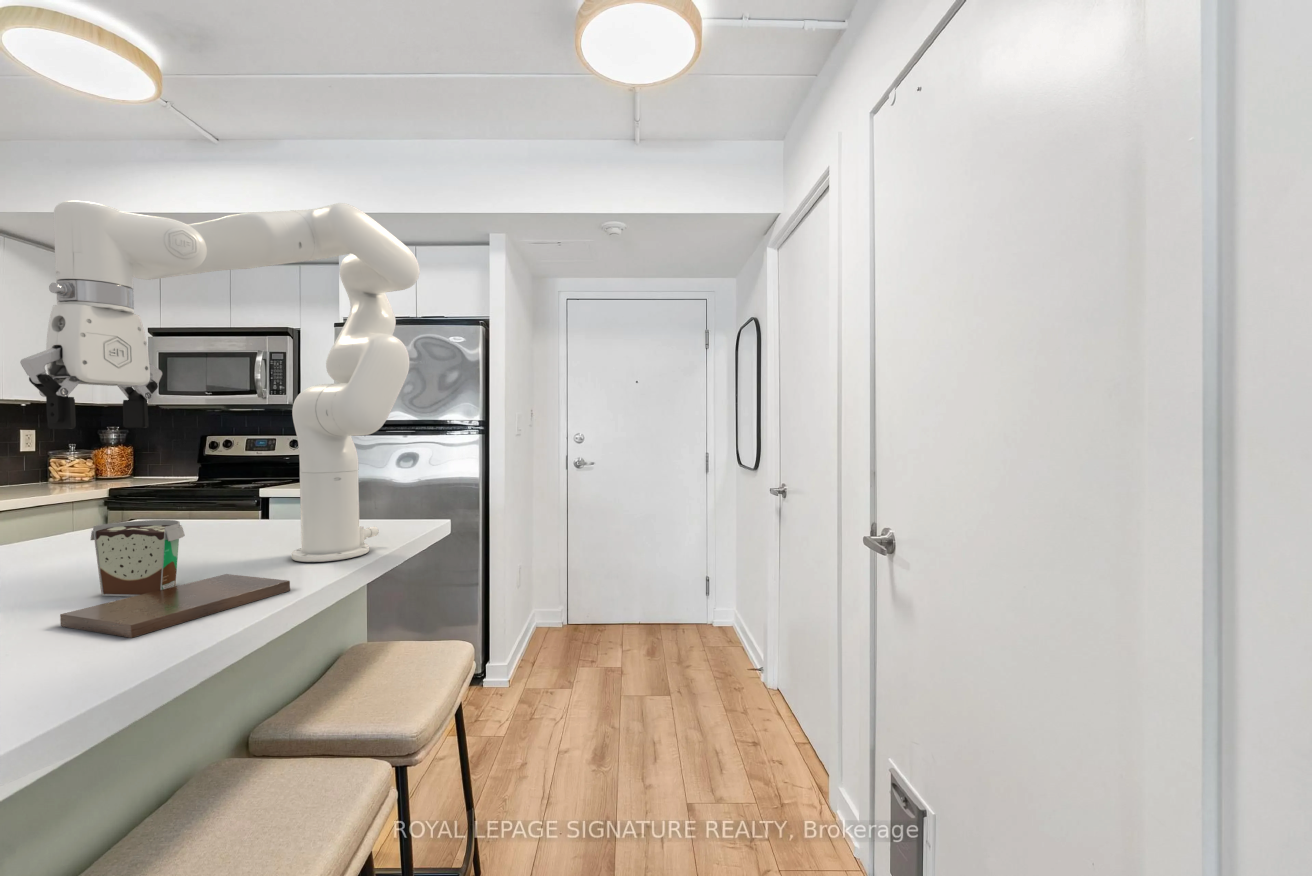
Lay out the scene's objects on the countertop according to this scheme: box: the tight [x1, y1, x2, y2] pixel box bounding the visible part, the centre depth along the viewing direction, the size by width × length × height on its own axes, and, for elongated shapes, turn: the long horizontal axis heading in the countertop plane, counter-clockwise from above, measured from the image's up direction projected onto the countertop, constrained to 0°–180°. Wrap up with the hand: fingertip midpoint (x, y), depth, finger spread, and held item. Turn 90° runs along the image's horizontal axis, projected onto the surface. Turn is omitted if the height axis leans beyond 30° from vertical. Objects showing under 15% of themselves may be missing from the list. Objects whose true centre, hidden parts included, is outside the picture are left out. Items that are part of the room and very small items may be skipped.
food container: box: [90, 519, 185, 597], centre depth 87 cm, size 12×6×10 cm, turn 84°
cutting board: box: [59, 573, 291, 638], centre depth 79 cm, size 20×13×2 cm, turn 161°
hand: (101, 428), depth 80 cm, fingers open, 9 cm apart
